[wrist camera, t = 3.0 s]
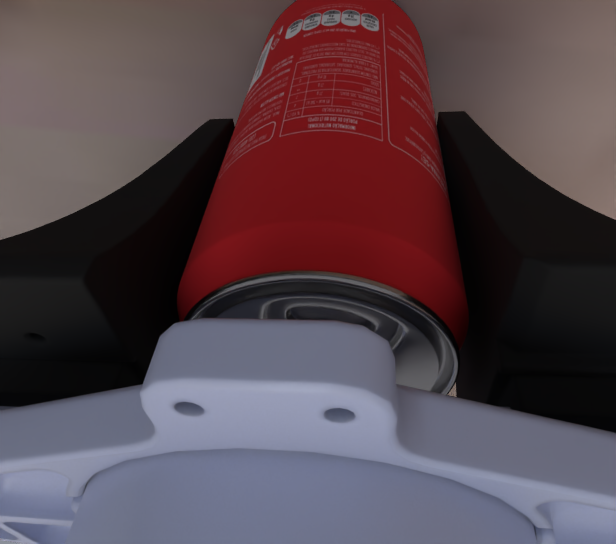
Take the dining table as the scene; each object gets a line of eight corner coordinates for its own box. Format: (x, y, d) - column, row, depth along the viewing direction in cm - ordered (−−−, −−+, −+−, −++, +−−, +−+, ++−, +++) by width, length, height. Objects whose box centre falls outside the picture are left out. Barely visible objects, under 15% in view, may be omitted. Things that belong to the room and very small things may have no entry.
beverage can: (447, -4, 15) (543, 307, 7) (392, 142, 18) (410, 454, 10) (278, -47, 14) (155, 230, 6) (258, 112, 18) (165, 413, 10)
